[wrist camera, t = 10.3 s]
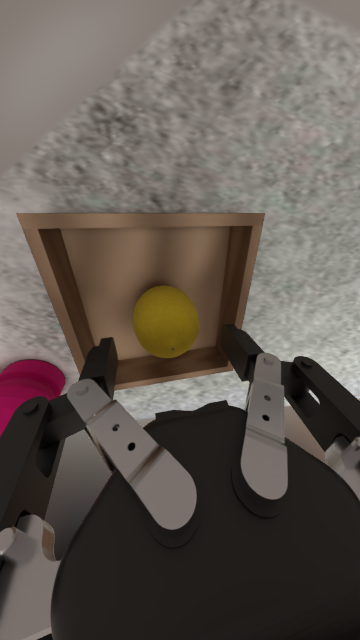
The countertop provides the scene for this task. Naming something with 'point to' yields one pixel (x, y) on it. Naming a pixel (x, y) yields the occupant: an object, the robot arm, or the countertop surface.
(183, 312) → the lemon
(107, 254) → the tray
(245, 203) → the countertop surface
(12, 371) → the pepper mill
